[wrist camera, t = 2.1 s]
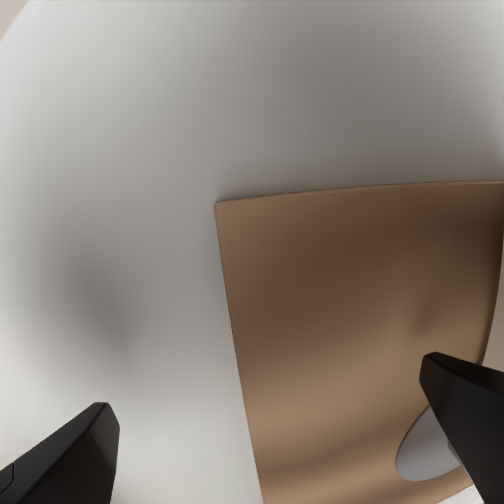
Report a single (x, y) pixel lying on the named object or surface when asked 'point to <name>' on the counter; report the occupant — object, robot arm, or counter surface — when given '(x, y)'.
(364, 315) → the dial board
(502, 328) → the dial lever
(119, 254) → the counter surface
